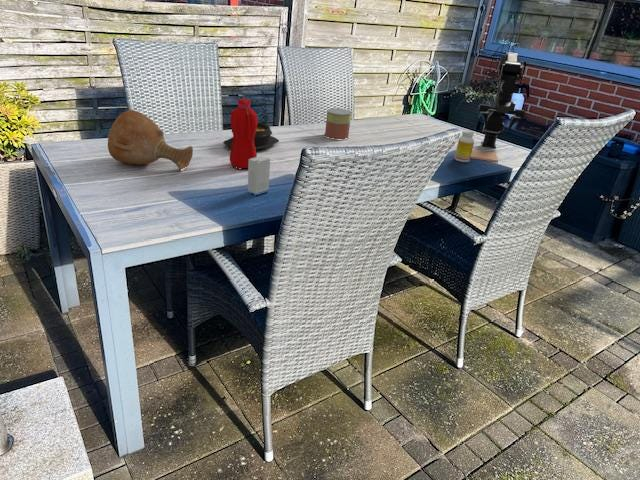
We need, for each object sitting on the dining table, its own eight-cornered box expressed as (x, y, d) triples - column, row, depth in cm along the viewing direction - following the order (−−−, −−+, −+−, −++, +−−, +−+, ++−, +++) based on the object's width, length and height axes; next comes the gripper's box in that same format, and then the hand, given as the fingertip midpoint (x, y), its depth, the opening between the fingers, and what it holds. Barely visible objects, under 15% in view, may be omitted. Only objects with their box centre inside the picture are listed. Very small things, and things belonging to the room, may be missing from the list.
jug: (129, 118, 190) (204, 138, 189) (113, 165, 188) (189, 185, 186) (106, 95, 171) (190, 117, 169) (88, 146, 168) (172, 169, 166)
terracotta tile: (469, 150, 235) (469, 148, 234) (495, 154, 233) (495, 152, 232) (470, 158, 224) (470, 156, 224) (497, 162, 222) (498, 160, 222)
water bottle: (237, 172, 183) (237, 103, 171) (227, 162, 191) (227, 96, 180) (260, 170, 187) (263, 103, 175) (250, 161, 195) (251, 96, 184)
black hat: (241, 156, 199) (241, 136, 195) (214, 144, 210) (214, 124, 206) (288, 147, 215) (289, 128, 211) (260, 136, 226) (261, 117, 222)
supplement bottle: (469, 163, 217) (476, 134, 211) (454, 161, 218) (460, 132, 212) (469, 159, 223) (475, 130, 217) (454, 156, 224) (460, 128, 218)
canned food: (352, 137, 238) (355, 111, 232) (340, 141, 229) (343, 115, 224) (332, 132, 243) (335, 107, 237) (320, 136, 234) (322, 110, 229)
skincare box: (260, 188, 171) (261, 154, 166) (269, 192, 169) (270, 158, 163) (246, 193, 167) (247, 158, 161) (256, 197, 164) (257, 162, 159)
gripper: (483, 91, 204) (474, 129, 210) (530, 97, 200) (520, 136, 206) (482, 90, 214) (474, 127, 220) (527, 96, 210) (518, 134, 216)
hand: (496, 131), depth 215 cm, fingers open, 9 cm apart
